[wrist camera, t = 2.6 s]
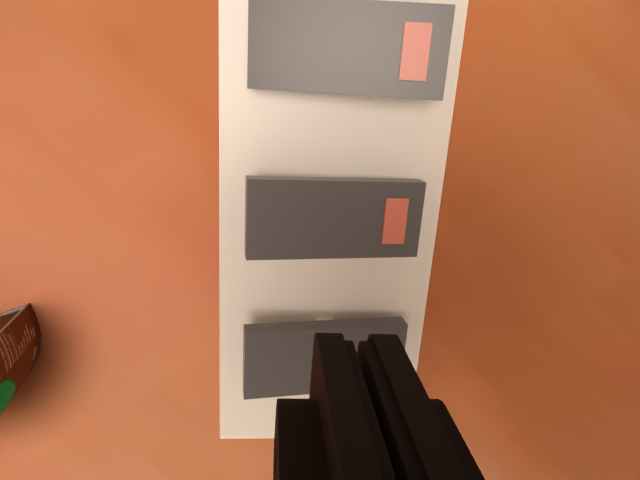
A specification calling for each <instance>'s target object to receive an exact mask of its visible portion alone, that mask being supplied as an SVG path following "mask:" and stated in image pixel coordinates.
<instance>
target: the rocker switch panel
mask: <svg viewBox="0 0 640 480" xmlns="http://www.w3.org/2000/svg"><path fill="white" fill-rule="evenodd" d="M384 1H402V2H419V3H437V4H454V5H456V6H455V13H454V21H453V28H452V36H451V43H450V51H449V58H448V66H447V73H446V81H445V88H444V96H443V101H433V100H418V99H402V98H387V97H371V96H356V95H340V94H325V93H309V92H294V91H278V90H262V89H247V64H248V0H219V276H220V439H249V438H274V436H275V417H276V403H277V398H293V399H309V394H305V395H293V396H282V397H270V398H259V399H247V400H244V397H243V324H260V323H280V322H300V321H320V320H340V319H359V318H379V317H399V316H401V317H402V318H403V319H404V320H405V321H406V323H407V324H408V329H407V337H406V344H405V351H406V353H407V355H408V357H409V359H410V361H411V363H412V365H413V367H414V369H415V371H416V373H417V366H418V358H419V351H420V344H421V337H422V330H423V323H424V316H425V309H426V301H427V294H428V287H429V280H430V273H431V266H432V259H433V252H434V244H435V237H436V230H437V223H438V216H439V209H440V202H441V194H442V187H443V180H444V173H445V166H446V159H447V152H448V145H449V137H450V130H451V123H452V116H453V109H454V102H455V95H456V88H457V80H458V73H459V66H460V59H461V52H462V45H463V38H464V30H465V23H466V16H467V9H468V2H469V0H384ZM246 175H253V176H301V177H350V178H399V179H420V180H422V181H424V182H426V190H425V198H424V205H423V213H422V221H421V229H420V236H419V244H418V252H417V257H390V258H340V259H289V260H246V258H245V254H244V251H245V181H246Z"/></svg>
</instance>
